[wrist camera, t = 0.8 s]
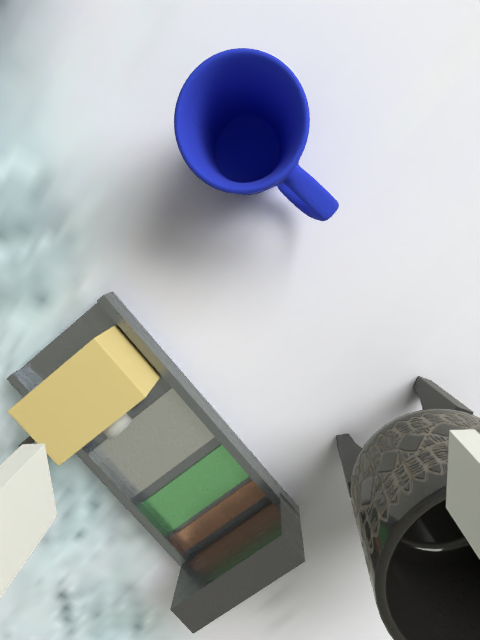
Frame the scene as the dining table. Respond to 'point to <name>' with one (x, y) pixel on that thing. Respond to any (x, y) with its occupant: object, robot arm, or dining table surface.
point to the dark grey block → (238, 563)
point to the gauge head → (86, 396)
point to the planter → (415, 521)
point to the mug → (249, 129)
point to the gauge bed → (163, 444)
